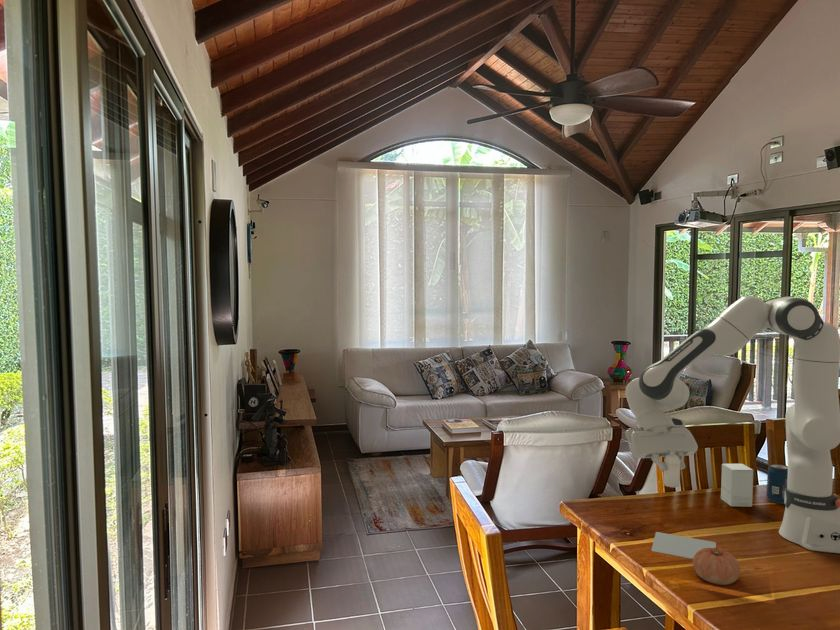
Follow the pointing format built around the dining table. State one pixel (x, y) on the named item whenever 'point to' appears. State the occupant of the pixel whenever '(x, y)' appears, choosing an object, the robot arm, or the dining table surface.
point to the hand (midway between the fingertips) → (673, 469)
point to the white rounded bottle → (672, 470)
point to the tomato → (716, 566)
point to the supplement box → (737, 485)
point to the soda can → (777, 482)
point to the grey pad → (679, 545)
